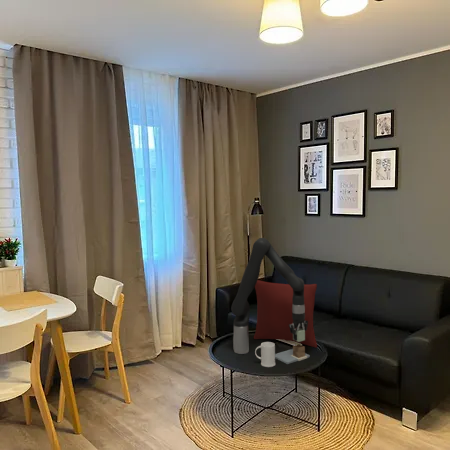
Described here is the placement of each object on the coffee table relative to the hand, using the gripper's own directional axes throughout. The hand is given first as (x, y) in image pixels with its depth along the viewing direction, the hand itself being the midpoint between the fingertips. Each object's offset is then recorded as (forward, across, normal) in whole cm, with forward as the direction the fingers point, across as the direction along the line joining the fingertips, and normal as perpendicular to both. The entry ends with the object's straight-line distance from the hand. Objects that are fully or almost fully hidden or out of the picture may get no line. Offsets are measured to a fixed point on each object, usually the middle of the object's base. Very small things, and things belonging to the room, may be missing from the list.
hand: (298, 338), depth 263 cm
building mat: (+12, +3, -4) cm, 13 cm away
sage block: (+1, 0, 0) cm, 1 cm away
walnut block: (+11, 0, 0) cm, 11 cm away
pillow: (+12, -10, -24) cm, 29 cm away
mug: (+12, +22, -5) cm, 26 cm away
